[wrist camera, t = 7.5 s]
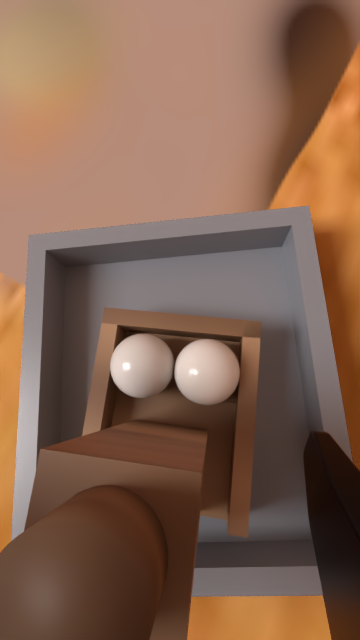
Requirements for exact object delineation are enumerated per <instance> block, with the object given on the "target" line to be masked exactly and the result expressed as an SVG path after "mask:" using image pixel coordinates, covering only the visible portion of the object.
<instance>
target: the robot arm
mask: <svg viewBox="0 0 360 640" xmlns="http://www.w3.org/2000/svg"><path fill="white" fill-rule="evenodd" d="M303 461H304V473H305V485H306V497H307V508H308V518H309V525H310V531H311V536H312V541H313V546H314V551H315V556H316V561H317V567H318V572H319V577H320V582H321V587H322V592H323V597H324V603H325V608H326V613H327V618H328V623H329V628H330V633H331V639H332V640H360V471H359V469H358V468H357V467H356V466H355V464H354V463H353V462H352V461H351V459H350V458H349V457H348V456H347V455H346V453H345V452H344V451H343V450H342V448H341V447H340V446H339V445H338V443H337V442H336V441H335V440H334V438H333V437H332V436H331V435H330V434H329V433H328V432H325V431H317V430H312V431H311V432H310V434H309V436H308V439H307V442H306V445H305V448H304V453H303Z"/></svg>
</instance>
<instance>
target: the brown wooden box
mask: <svg viewBox="0 0 360 640" xmlns="http://www.w3.org/2000/svg"><path fill="white" fill-rule="evenodd" d="M261 323H262V321H251V320H240V319H228V318H217V317H206V316H195V315H184V314H173V313H162V312H151V311H139V310H128V309H117V308H106V307H104V312H103V318H102V324H101V329H100V335H99V341H98V347H97V352H96V358H95V364H94V370H93V375H92V381H91V387H90V393H89V398H88V404H87V410H86V416H85V421H84V427H83V433H82V436H81V437H77V438H74V439H71V440H68V441H64V442H61V443H58V444H54V445H51V446H48V447H45V448H41V449H40V453H39V458H38V463H37V468H36V473H35V478H34V483H33V488H32V493H31V498H30V503H29V508H28V513H27V518H26V523H25V528H24V532H23V533H21V534H20V535H18V536H17V537H16V538H14V539H13V540H12V541H11V542H10V543H9V544H8V545H7V546H6V547H5V548H4V549H3V550H2V551H1V553H0V640H187V633H188V623H189V614H190V605H191V595H192V586H193V576H194V567H195V558H196V548H197V539H198V530H199V520H200V516H206V517H212V518H218V519H224V520H226V521H227V530H228V535H233V536H239V537H245V538H248V529H249V513H250V497H251V481H252V465H253V450H254V434H255V418H256V402H257V386H258V370H259V354H260V338H261ZM143 333H144V334H151V335H154V336H156V337H158V338H160V339H162V340H163V341H164V342H165V343H166V344H167V345H168V346H169V348H170V349H171V351H172V354H173V357H174V362H176V359H177V357H178V355H179V353H180V352H181V351H182V349H183V348H184V347H186V346H187V345H188V344H190V343H191V342H194V341H196V340H200V339H213V340H217V341H220V342H222V343H224V344H225V345H226V346H228V347H229V348H230V349H231V350H232V351H233V353H234V354H235V356H236V358H237V360H238V363H239V367H240V378H239V382H238V385H237V387H236V389H235V391H234V392H233V393H232V395H231V396H229V397H228V398H227V399H226V400H224V401H223V402H221V403H218V404H214V405H200V404H197V403H194V402H192V401H190V400H189V399H187V398H186V397H185V396H184V395H183V394H182V393H181V391H180V390H179V388H178V386H177V384H176V381H175V377H174V374H173V377H172V379H171V381H170V383H169V385H168V386H167V387H166V388H165V389H164V390H163V391H162V392H160V393H159V394H157V395H155V396H152V397H149V398H135V397H132V396H129V395H127V394H125V393H124V392H122V391H121V390H120V389H119V388H118V387H117V385H116V384H115V383H114V381H113V378H112V376H111V371H110V362H111V357H112V354H113V352H114V350H115V348H116V347H117V346H118V345H119V344H120V342H122V341H123V340H124V339H126V338H127V337H129V336H132V335H135V334H143Z"/></svg>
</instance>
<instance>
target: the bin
mask: <svg viewBox="0 0 360 640" xmlns="http://www.w3.org/2000/svg"><path fill="white" fill-rule="evenodd" d="M104 307H106V308H117V309H128V310H139V311H151V312H162V313H173V314H184V315H195V316H206V317H217V318H228V319H240V320H251V321H262V323H261V338H260V354H259V370H258V386H257V402H256V418H255V434H254V450H253V465H252V481H251V497H250V513H249V529H248V538H245V537H239V536H233V535H228V530H227V521H226V520H224V519H218V518H212V517H206V516H200V520H199V530H198V539H197V548H196V558H195V567H194V576H193V586H192V595H191V597H199V596H315V595H323V592H322V587H321V582H320V577H319V572H318V567H317V561H316V556H315V551H314V546H313V541H312V536H311V531H310V525H309V518H308V508H307V497H306V485H305V473H304V461H303V453H304V448H305V445H306V442H307V439H308V436H309V434H310V432H311V431H312V430H317V431H325V432H328V433H329V434H330V435H331V436H332V437H333V438H334V440H335V441H336V442H337V443H338V445H339V446H340V447H341V448H342V450H343V451H344V452H345V453H346V455H347V456H348V457H349V458H350V459H351V461H352V462H353V459H352V453H351V447H350V442H349V436H348V430H347V424H346V418H345V412H344V406H343V401H342V395H341V389H340V383H339V377H338V371H337V366H336V360H335V354H334V348H333V342H332V336H331V330H330V325H329V319H328V313H327V307H326V301H325V295H324V290H323V284H322V278H321V272H320V266H319V260H318V255H317V249H316V243H315V237H314V231H313V225H312V219H311V214H310V208H309V206H301V207H292V208H282V209H273V210H264V211H254V212H245V213H235V214H226V215H216V216H206V217H197V218H187V219H178V220H170V221H169V220H168V221H160V222H149V223H140V224H130V225H121V226H111V227H102V228H92V229H83V230H73V231H64V232H55V233H45V234H35V235H29V242H28V260H27V277H26V294H25V311H24V328H23V346H22V363H21V380H20V398H19V415H18V432H17V450H16V467H15V484H14V501H13V519H12V536H11V541H12V540H13V539H14V538H16V537H17V536H18V535H20V534H21V533H23V532H24V528H25V523H26V518H27V513H28V508H29V503H30V498H31V493H32V488H33V483H34V478H35V473H36V468H37V463H38V458H39V453H40V449H41V448H45V447H48V446H51V445H54V444H58V443H61V442H64V441H68V440H71V439H74V438H77V437H81V436H82V433H83V427H84V421H85V416H86V410H87V404H88V398H89V393H90V387H91V381H92V375H93V370H94V364H95V358H96V352H97V347H98V341H99V335H100V329H101V324H102V318H103V312H104Z"/></svg>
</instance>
